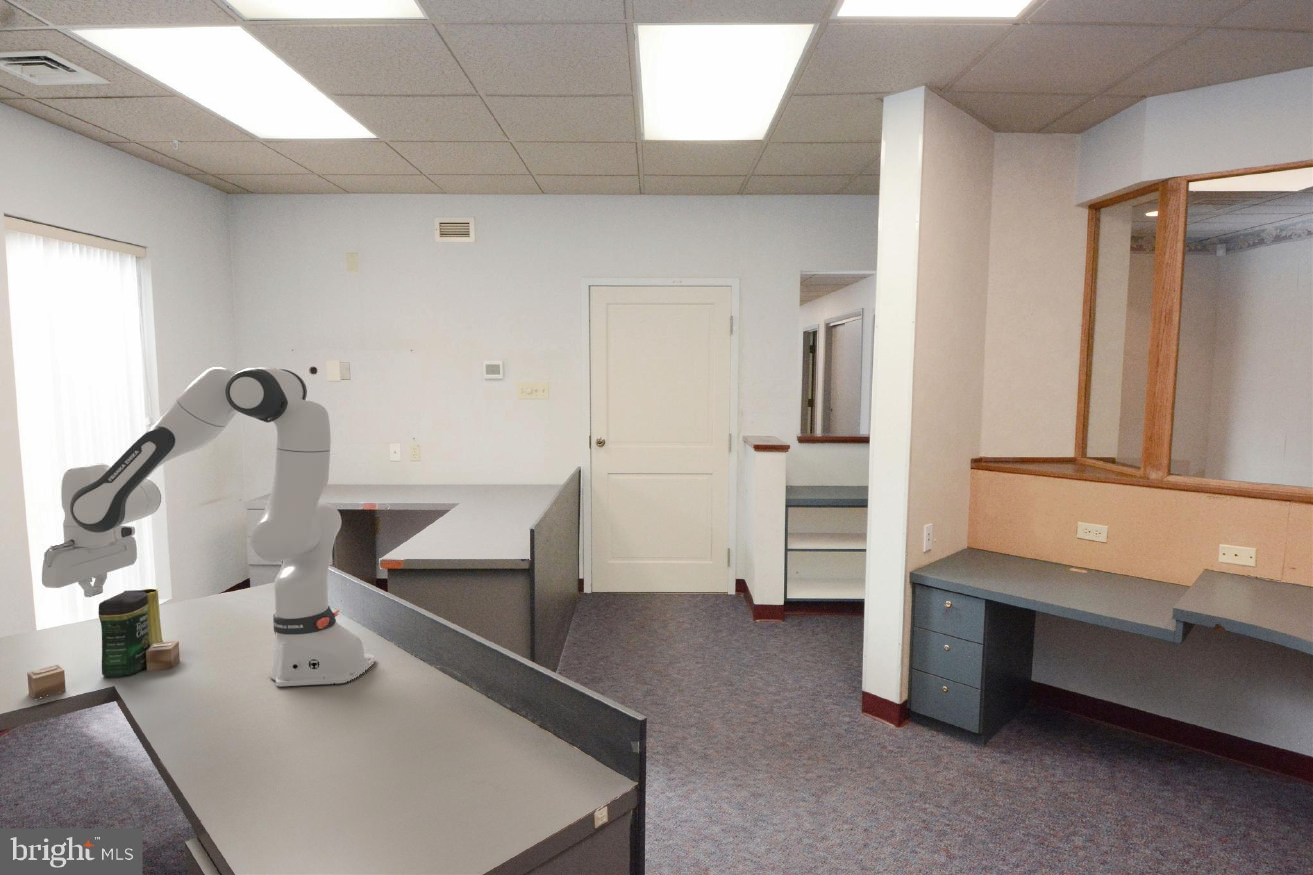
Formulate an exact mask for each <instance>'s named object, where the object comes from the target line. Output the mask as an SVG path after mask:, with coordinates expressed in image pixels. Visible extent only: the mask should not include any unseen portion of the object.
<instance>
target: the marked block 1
mask: <svg viewBox="0 0 1313 875" xmlns="http://www.w3.org/2000/svg"><path fill="white" fill-rule="evenodd" d="M65 674H66V673H65V669H64V668H62V667H61V666H60V665H58V664H53V665H51V666H47V667H43V668H39V669H36V670H32V671H28V672H27V674H26V675H27V676H26V677H27V686H28V687H27V688H28V689H27V690H28V694H29V693H30V694H31V695H32V696H33V697H34V698H35V699H37V700H39V699H38V698H40V697H44V698H46V696H47V695H48V697H50V696H49V695H51V696H54V695H57V694H56V693H58V694H60V693H59V692H61V693H64V692H67V691H66V689H67V688H66V679H65V678H66V675H65ZM30 694H29V695H30ZM53 694H54V695H53ZM31 695H30V696H31ZM32 696H31V697H32ZM33 697H32V698H33ZM34 698H33V699H34ZM35 699H34V700H35Z"/></svg>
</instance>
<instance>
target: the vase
mask: <svg viewBox="0 0 1313 875" xmlns="http://www.w3.org/2000/svg"><path fill="white" fill-rule="evenodd" d="M142 590H143V591H144V592H145V593H146V594H147V596H148V597H147V598H148V612H147V623H148V632H149V640H150V647H151V646H152V645H153V644H154V643H162V642H164V641H163V633H162V626H161V625H162V624H161V616H160V615H161V614H160V612H161V611H160V600H159V589H157V588H144V589H142Z"/></svg>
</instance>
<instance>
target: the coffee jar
mask: <svg viewBox="0 0 1313 875" xmlns="http://www.w3.org/2000/svg"><path fill="white" fill-rule="evenodd" d="M147 597H148V596H147V594H146V593H145V592H144V591H143V589H140V590H139V589H138V590H133V589H132V590H130V589H129V590H124V591H123V592H121V593H118V594H116V595H114V596H112V597H109V598H107V599H105V600H103V601H101V602H100V603H99V604H98V619H99V622H100V628H101V675H102V676H104V677H108V678H113V679H114V678H115V679H117V678H122V677H125V676H129V675H134V674H136V673H138V672H141V670H143V669H145V668H147V661H146V651H147V650H148V649H149V648H150V640H149V632H148V623H147V612H148V598H147Z"/></svg>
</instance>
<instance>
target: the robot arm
mask: <svg viewBox="0 0 1313 875" xmlns="http://www.w3.org/2000/svg"><path fill="white" fill-rule="evenodd" d="M307 395H308V388H307V385H306V383H305V381H304V379H303V378H302V377H301V376H299V375H298V374H297V373H295V372H293V371H291V370H288V369H280V368H279V369H278V368H275V367H267V366H266V367H265V366H264V367H262V366H261V367H247V368H245V369H242V370H239V371H238V372H235V371H233V370H230V369H228V368H225V367H219V366H218V367H211V368H209V369H206V370H205V371H204V372H202V373H201V374H200V375H199V376H198V377H196V378H195V379H194V380H193V381H192V382H191V383H190V384H188V385H187V386H186V388H185V389H183V391H182V392H181V393H180V394H179V395H178V397H177V398H176V399H175V400H174V401H173V402H172V404H171V405H170V406H169V407H168V408H167V409H166V411H164V413H163V414H162V415H161V416H160V417H159V418H158V420H157V421H156V422H155V423H154V424H153V425H151V427H150V428H148V430H147V431H145V433H144V434H143V435H142V436H141V437H139V438H138V439H137V440H136V441H135V442H134V443H133V444H132V445H131V446H130V447H129V448H128V449H126V451H125V452H124V453H123V454H122V455H121V456H120V457H119V458H118V459H117V460H116V461H115V462H114V463H113V465H111V466H110V465H108V464H106V463H93V464H88V465H80V466H77V467H72V468H69V469H68V470H66V471H65V472H64V473H63V476H62V480H61V487H60V488H61V491H60V492H61V493H60V494H61V495H60V496H61V507H62V510H63V512H64V519H63V522H62V525H63V526H62V527H63V540H64V541H63V542H60V543H55V544H51V545H50V546H49V547H48V548H47V550H46V551H45V552H44V554H43V563H42V568H41V569H42V570H41V584H42V585H43V586H44V587H45V588H49V589H50V588H51V589H61V588H63V587H66V586H69V585H73V584H75V583H77V584H78V585H79V586H80V588H81V590H83V595H84V597H85V598H92V597H95V596H97V595H100V594H103V593H104V585H105V583H106V580H107V579H108V573H111V572H114V571H117V570H120V569H123V568H125V567H130V566H132V565H134V564H135V563H136V562H137V559H138V548H137V540H136V539H135V537H134V535H135V534H136V527H135V526H130V525H126V524H130V523H132V522H135V521H138V520H141V519H144V518H146V517H148V516H151V515H153V514H154V513H156V512H157V510H158V509H159V507H160V505H161V503H162V494H161V491H160V489H159V487H158V486H157V484H156V483H154V482H153V481H152V480H150V479H148V478H149V477H150V476H151V475H152V474H153V473H154V472H155V470H157V469H158V468H159V467H161V466H162V465H163V464H166V463H167V462H168V461H171V460H172V459H174V458H177V457H180V456H182V455H185V454H187V453H191V452H193V451H196V450H199V449H201V448H204V447H206V446H207V445H208V444H210V443H211V442H212V441H213V440H214V439H216V438H217V437H218V436H219V435H220V434H221V433H222V432H223V431H224V430H225V428H226V427H227V426H228V425H229V423H231V421H232V420H233V418H235V416H236V415H237V414H238V413H241V414H242V415H245V416H247V417H250V418H254V419H257V420H259V421H262V422H263V423H268V424H269V423H273V424H274V426H275V427H276V432H277V433H276V434H277V435H276V436H277V437H276V445H275V446H276V449H275V450H276V451H275V462H274V463H275V465H274V477H273V482H272V487H271V491H270V493H269V497H268V500H267V503H266V506H265V508H264V511H263V512H262V516H261V518H260V519H259V521H258V522H257V524H256V525H255V526H254V527H253V529H252V530H251V533H250V538H249V542H250V547H251V550H252V551H253V553H254V554H255V555H256V557H258V559H261V560H262V561H265V562H270V563H275V562H276V563H279V562H282V563H281V567H280V569H279V572H278V573H277V575H276V577H275V579H274V584H273V590H274V610H275V611H274V614H273V620H272V621H273V632H274V636H275V640H274V643H275V644H274V650H273V651H274V652H273V653H274V654H273V659H272V664H271V669H270V672H269V677H270V678H271V679H272V680H274V681H275V685H276V686H277V687H292V686H293V687H296V686H312V685H313V686H314V685H332V684H334V683H335V684H344V683H347V681H348V682H350V680H351V679H353V680H355V679H357V678H358V677H360V676H361V675H360V674H362V673H363V672H364V673H366V672H365V670H367V669H368V668H369V667H370V665H372V663H373V661H374V662H375V657H374V655H373V654H369V653H365V650H364V646H363V642H362V639H361V638H360V637H359V636H358V635H356V634H354V633H353V632H351V631H350V630H348V629H347V628H346V627H344V626H343V625H341V624H339V623H338V622H337V619H336V617H337V616H339V615H340V613H339V612H340V610H339V609H338V610H336V611H334V612H333V610H332V608H331V606H330V605H329V592H328V590H329V588H328V585H329V584H328V583H329V582H328V578H329V569H330V568H329V567H330V564H331V563H330V562H331V557H332V552H333V548H334V544H335V539H336V538H337V535H338V533H339V532H340V530H341V527H342V516H341V513H340V512H339V510H338V509H337V508H336V507H335V506H334V505H332V504H330V503H327V502H322V501H320V499H321V495H322V493H323V492H324V490H325V488H326V487H327V485H328V483H329V478H330V477H329V475H330V463H331V462H330V459H331V443H332V442H331V436H332V435H331V425H330V417H329V413H328V410H327V409H326V408H325V406H323V405H322V404H320V403H318V402H315V401H312V400H306V399H307V397H308V396H307ZM93 579H95V580H94V582H93ZM92 583H93V585H92ZM373 664H374V663H373ZM372 666H373V665H372ZM370 668H371V667H370ZM370 668H369V669H370ZM369 669H368V670H369ZM368 670H367V671H368ZM364 673H363V674H364ZM363 674H362V675H363ZM359 675H360V676H359ZM357 676H358V677H357ZM356 677H357V678H356ZM354 678H355V679H354ZM351 681H352V680H351ZM335 684H334V685H335Z"/></svg>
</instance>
